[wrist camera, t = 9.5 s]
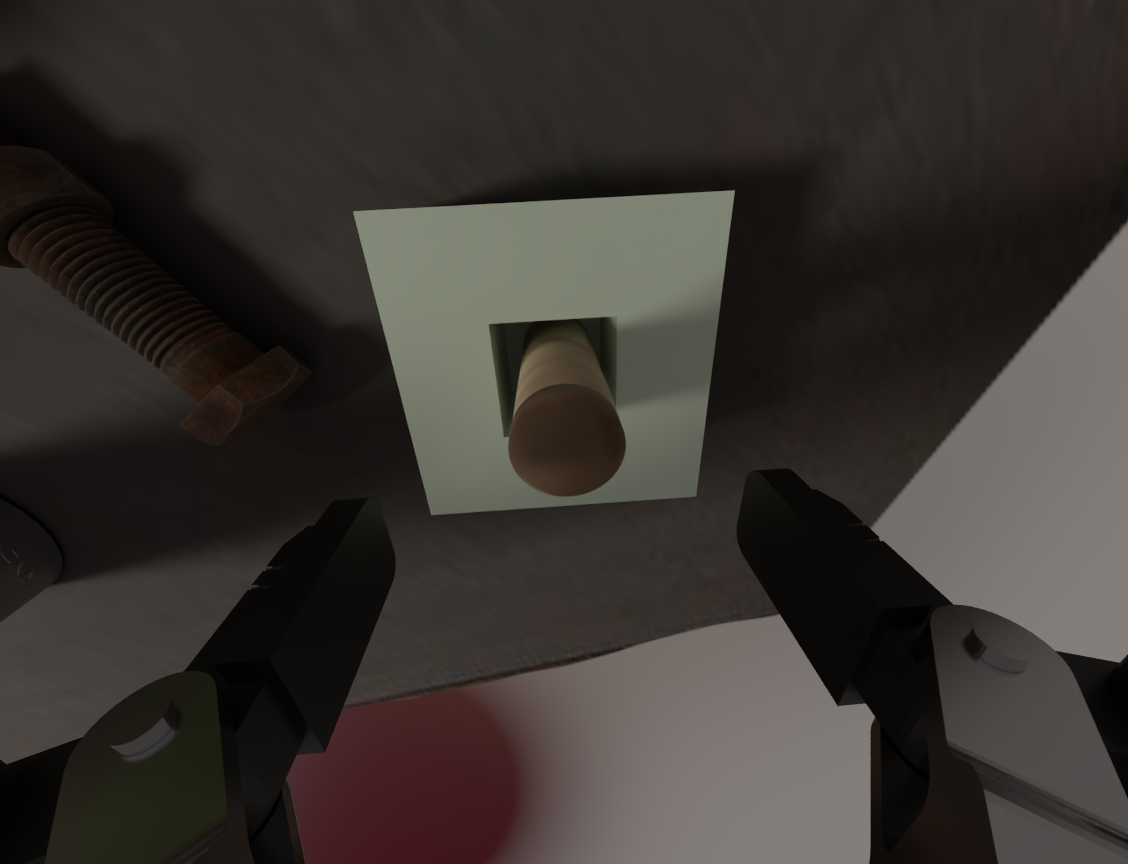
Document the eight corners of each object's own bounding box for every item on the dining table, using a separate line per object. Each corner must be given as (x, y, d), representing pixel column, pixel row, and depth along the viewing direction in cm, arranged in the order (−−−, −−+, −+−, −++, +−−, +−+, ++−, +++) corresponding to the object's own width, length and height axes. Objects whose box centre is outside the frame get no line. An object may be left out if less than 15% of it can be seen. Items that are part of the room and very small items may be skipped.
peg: (527, 377, 21) (514, 500, 12) (520, 313, 19) (500, 399, 10) (590, 373, 21) (624, 492, 12) (589, 309, 19) (627, 391, 10)
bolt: (23, 108, 17) (319, 373, 23) (-101, 175, 16) (242, 438, 21) (-133, -15, 12) (302, 370, 17) (-335, 71, 11) (198, 455, 16)
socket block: (456, 448, 24) (431, 514, 18) (409, 213, 18) (353, 211, 13) (661, 434, 24) (696, 496, 18) (678, 198, 18) (734, 190, 13)
